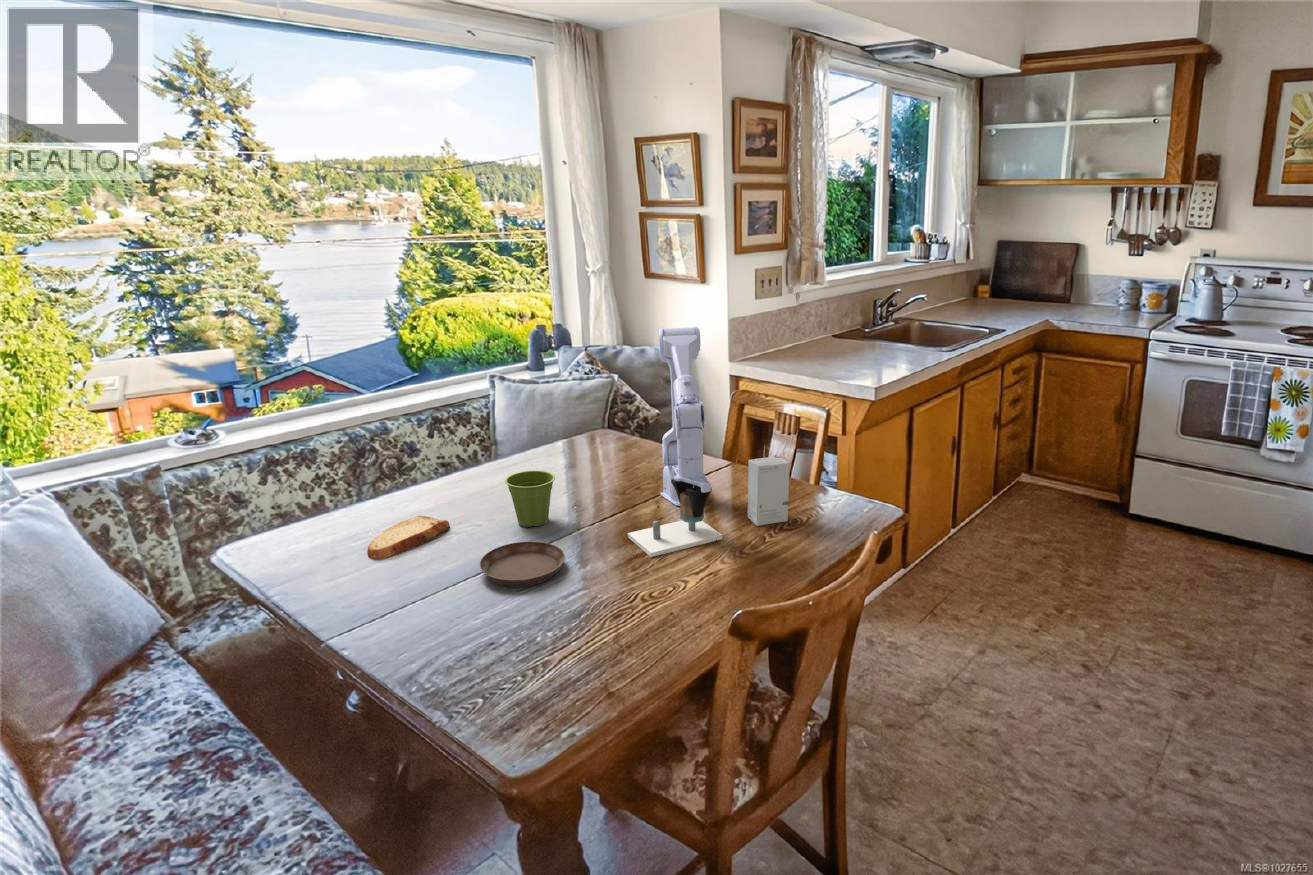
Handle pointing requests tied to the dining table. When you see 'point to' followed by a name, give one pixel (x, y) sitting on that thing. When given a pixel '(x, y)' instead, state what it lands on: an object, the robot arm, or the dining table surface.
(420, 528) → the bread slice
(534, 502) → the plant pot
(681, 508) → the sleeve
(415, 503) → the dining table surface
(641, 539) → the pin board
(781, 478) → the skincare box
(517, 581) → the plant saucer
